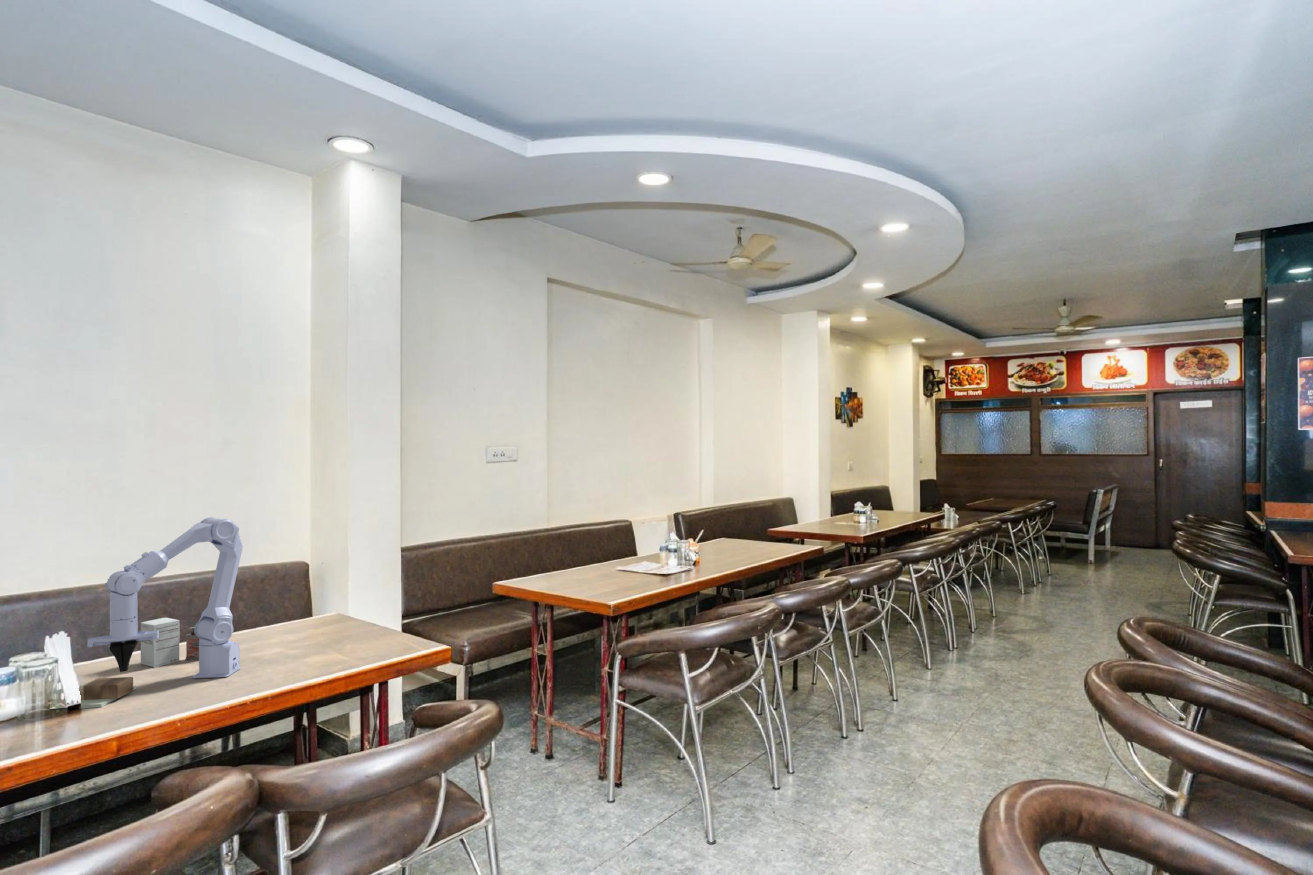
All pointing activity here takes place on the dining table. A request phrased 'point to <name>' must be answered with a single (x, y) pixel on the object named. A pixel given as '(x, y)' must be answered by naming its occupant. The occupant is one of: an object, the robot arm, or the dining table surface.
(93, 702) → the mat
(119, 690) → the walnut block
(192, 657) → the small bottle
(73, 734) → the dining table surface
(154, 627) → the supplement box
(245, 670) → the dining table surface
